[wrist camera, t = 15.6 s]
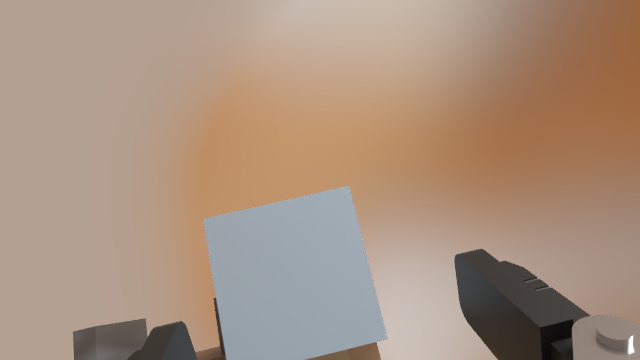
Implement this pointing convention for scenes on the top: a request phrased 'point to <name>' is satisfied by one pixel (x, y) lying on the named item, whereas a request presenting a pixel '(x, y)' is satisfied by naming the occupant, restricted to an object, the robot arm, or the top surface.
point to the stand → (127, 337)
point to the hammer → (293, 280)
